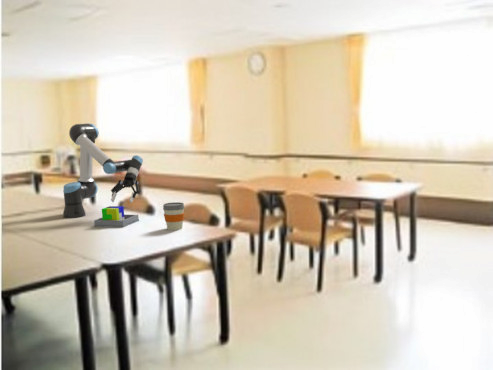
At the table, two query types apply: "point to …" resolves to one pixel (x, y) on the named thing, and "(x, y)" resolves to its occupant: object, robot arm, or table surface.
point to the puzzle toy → (113, 213)
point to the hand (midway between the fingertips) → (121, 201)
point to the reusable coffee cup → (174, 215)
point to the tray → (116, 221)
